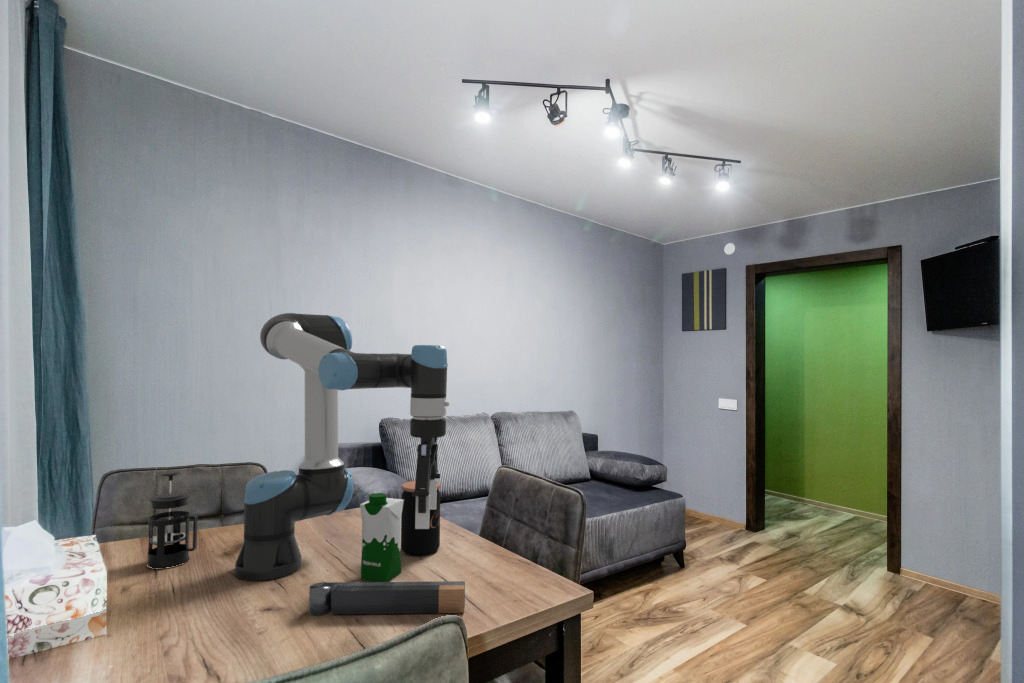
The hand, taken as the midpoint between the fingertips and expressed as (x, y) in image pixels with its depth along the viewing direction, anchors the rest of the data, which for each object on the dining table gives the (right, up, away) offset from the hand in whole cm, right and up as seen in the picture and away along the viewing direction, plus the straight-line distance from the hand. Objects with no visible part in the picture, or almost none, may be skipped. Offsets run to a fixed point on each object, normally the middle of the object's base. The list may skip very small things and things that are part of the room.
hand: (426, 518), depth 114 cm
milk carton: (-14, -20, +17) cm, 29 cm away
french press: (-70, -20, +25) cm, 77 cm away
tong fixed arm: (-8, -19, -1) cm, 21 cm away
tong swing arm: (-5, -19, -2) cm, 20 cm away
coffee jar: (-7, -21, +35) cm, 41 cm away
